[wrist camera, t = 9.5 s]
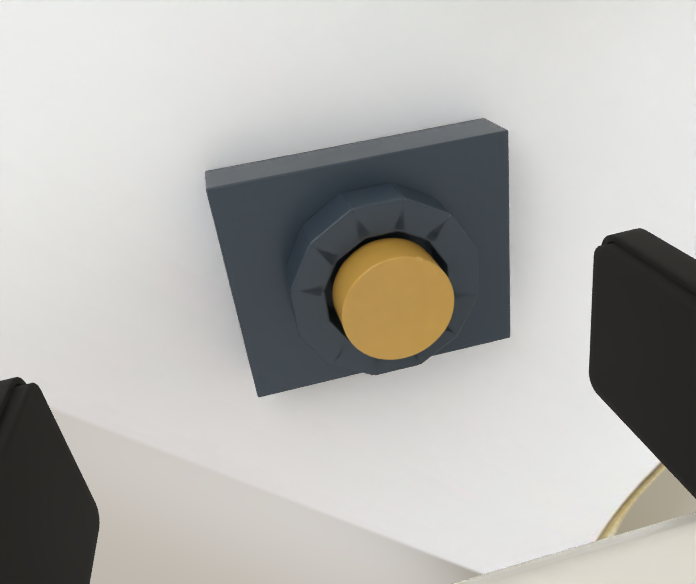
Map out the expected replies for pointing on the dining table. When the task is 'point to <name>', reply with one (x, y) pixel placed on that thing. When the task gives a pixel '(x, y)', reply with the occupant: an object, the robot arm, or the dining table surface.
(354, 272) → the bell button
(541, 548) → the dining table surface
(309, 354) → the grey button base
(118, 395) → the dining table surface
